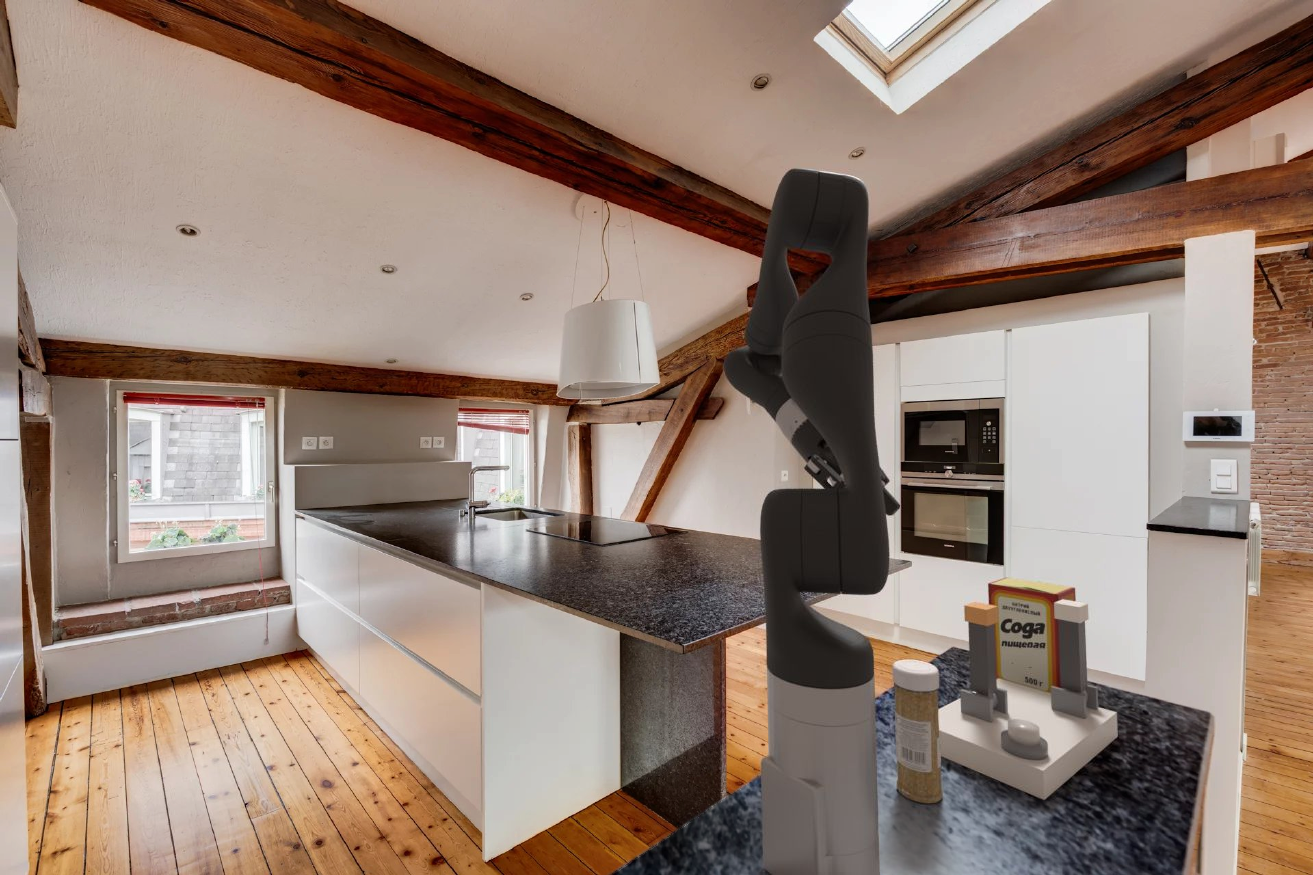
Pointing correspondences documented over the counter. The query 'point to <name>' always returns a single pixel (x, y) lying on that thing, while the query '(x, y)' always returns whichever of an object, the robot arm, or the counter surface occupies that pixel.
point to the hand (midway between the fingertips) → (883, 512)
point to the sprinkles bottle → (917, 730)
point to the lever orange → (982, 648)
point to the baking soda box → (1028, 631)
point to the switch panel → (1052, 729)
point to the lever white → (1072, 644)
